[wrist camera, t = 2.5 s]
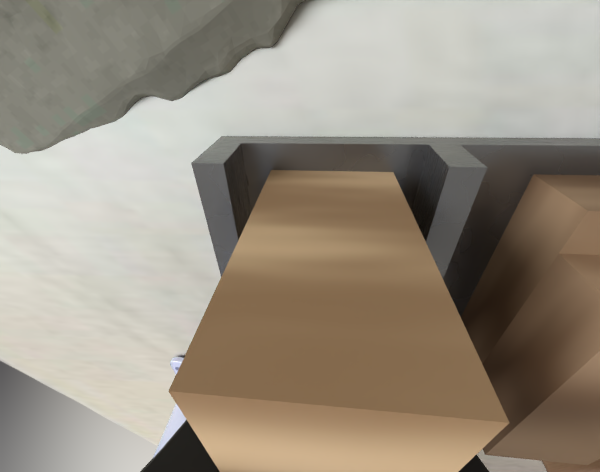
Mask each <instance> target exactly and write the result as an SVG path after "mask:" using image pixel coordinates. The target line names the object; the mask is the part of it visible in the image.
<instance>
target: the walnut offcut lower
mask: <svg viewBox="0 0 600 472" xmlns="http://www.w3.org/2000/svg"><path fill="white" fill-rule="evenodd" d="M558 254H584V255H600V175H541V174H533V176H532V178H531V180H530V182H529V184H528V186H527V188H526V190H525V192H524V194H523V196H522V198H521V200H520V202H519V204H518V206H517V208H516V210H515V212H514V214H513V216H512V217H511V219H510V221H509V223H508V225H507V227H506V229H505V231H504V233H503V235H502V237H501V239H500V241H499V243H498V245H497V247H496V249H495V251H494V253H493V255H492V257H491V259H490V261H489V263H488V265H487V267H486V269H485V270H484V272H483V274H482V276H481V278H480V280H479V282H478V284H477V286H476V288H475V290H474V292H473V294H472V296H471V298H470V300H469V302H468V304H467V306H466V308H465V310H464V312H463V314H462V316H461V319H462V321H463V324H464V326H465V328H466V330H467V332H468V334H469V337H470V339H471V341H472V343H473V345H474V347H475V349H476V352H477V354H478V356H479V358H480V360H481V362H482V364H483V362H484V361H485V359H486V358H487V357H488V355H489V354H490V352H491V351H492V349H493V348H494V346H495V345H496V344H497V342H498V341H499V339H500V338H501V336H502V335H503V333H504V332H505V331H506V329H507V328H508V326H509V325H510V323H511V322H512V320H513V319H514V318H515V316H516V315H517V313H518V312H519V310H520V309H521V307H522V306H523V304H524V303H525V302H526V300H527V299H528V297H529V296H530V294H531V293H532V291H533V290H534V289H535V287H536V286H537V284H538V283H539V281H540V280H541V278H542V277H543V276H544V274H545V273H546V271H547V270H548V268H549V267H550V265H551V264H552V263H553V261H554V260H555V258H556V257H557V255H558Z"/></svg>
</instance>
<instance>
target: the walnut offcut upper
mask: <svg viewBox="0 0 600 472" xmlns="http://www.w3.org/2000/svg"><path fill="white" fill-rule="evenodd" d="M482 365H483V367H484V369H485V371H486V373H487V375H488V377H489V380H490V382H491V384H492V386H493V388H494V390H495V393H496V395H497V397H498V399H499V401H500V403H501V406H502V408H503V410H504V412H505V414H506V416H507V418H508V421H509V424H508V425H507V426H506V427H505V428H504V429H503V430H501V431H500V432H499V433H498V434H497V435H496V436H495V437H494V438H493V439H492V440H491V441H490V442H489V443H488V444H487V445H486V446H485V447H484V448H483V450H484V453H485V455H493V456H503V457H513V458H523V459H532V460H542V461H552V462H561V463H571V464H581V465H589V464H591V463H593V462H595V461H596V460H598V459H600V255H584V254H558V255H557V257H556V258H555V260H554V261H553V263H552V264H551V265H550V267H549V268H548V270H547V271H546V273H545V274H544V276H543V277H542V278H541V280H540V281H539V283H538V284H537V286H536V287H535V289H534V290H533V291H532V293H531V294H530V296H529V297H528V299H527V300H526V302H525V303H524V304H523V306H522V307H521V309H520V310H519V312H518V313H517V315H516V316H515V318H514V319H513V320H512V322H511V323H510V325H509V326H508V328H507V329H506V331H505V332H504V333H503V335H502V336H501V338H500V339H499V341H498V342H497V344H496V345H495V346H494V348H493V349H492V351H491V352H490V354H489V355H488V357H487V358H486V359H485V361H484V362H483V364H482Z"/></svg>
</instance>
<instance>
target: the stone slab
mask: <svg viewBox="0 0 600 472" xmlns="http://www.w3.org/2000/svg"><path fill="white" fill-rule="evenodd" d="M303 1H305V0H0V145H2V146H4V147H6V148H8V149H9V150H11V151H13V152H14V153H22V154H23V153H25V154H27V153H29V152H35V151H42V150H44V149H47V148H49V147H52V146H53V145H55V144H57V143H59V142H60V141H63V140H65V139H67V138H70V137H73V136H76V135H78V134H80V133H83V132H85V131H87V130H89V129H90V128H95V127H99V126H101V125H105V124H108V123H111V122H114V121H116V120H118V119H120V118H121V117H123V116H124V115H125V114H126V113H127V111H128V110H129V109H130V108H131V107H132V106H133V104H134V103H136V102H137V101H138V100H139V99H141V98H144V97H148V96H155V97H159V98H162V99H166V100H170V101H174V100H177V99H180V98H182V97H183V96H184V95H185V94H186V93H187V92H189V91H190V90H191V89H193V88H194V87H195V86H196V85H198V84H199V83H200V82H202V81H204V80H206V79H209V78H212V77H217V76H221V75H224V74H226V73H228V72H230V71H231V70H232V69H233V68H234V67H235V66H236V64H237V63H238V62H239V61H240V60H241V59H242V58H243V57H245V56H246V55H247V54H248V53H250V52H251V51H253V50H254V49H256V48H265V47H272V46H273V45H274V44H275V43H276V42H277V41H278V39H279V38H280V36H281V34H282V32H283V31H284V29H285V27H286V25H287V23H288V21H289V20H290V18H291V16H292V14H293V12H294V11H295V9H296V7H297V5H298V4H300V3H302V2H303Z"/></svg>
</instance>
